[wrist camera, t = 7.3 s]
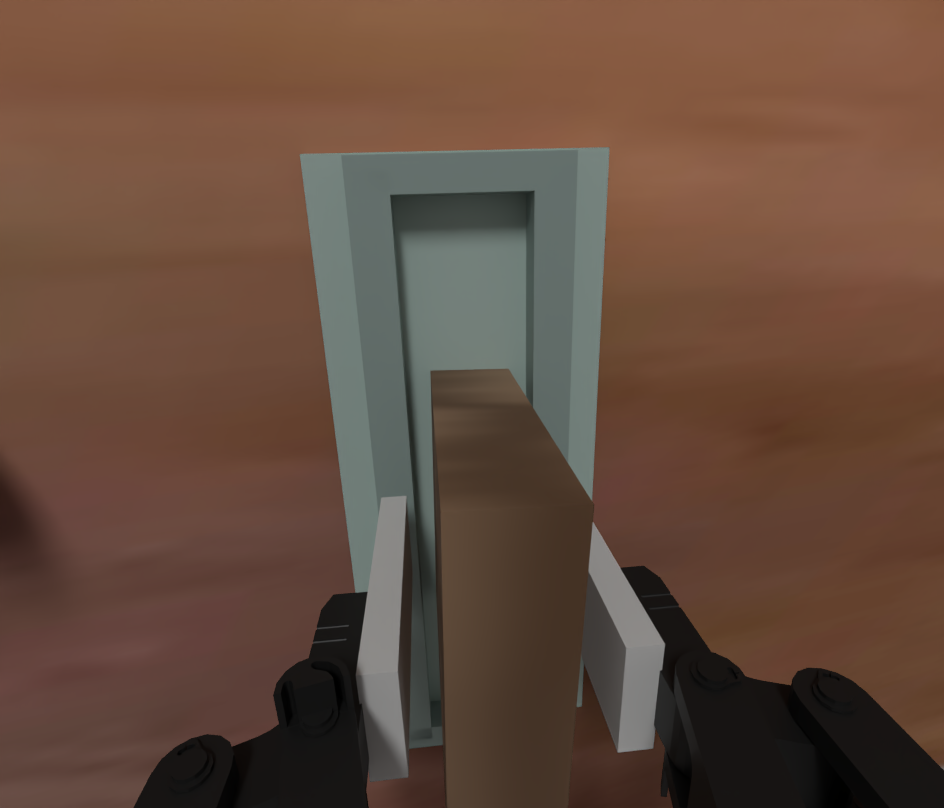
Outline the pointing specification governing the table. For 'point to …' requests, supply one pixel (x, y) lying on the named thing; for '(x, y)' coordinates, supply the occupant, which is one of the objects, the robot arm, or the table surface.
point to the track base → (451, 327)
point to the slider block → (505, 593)
